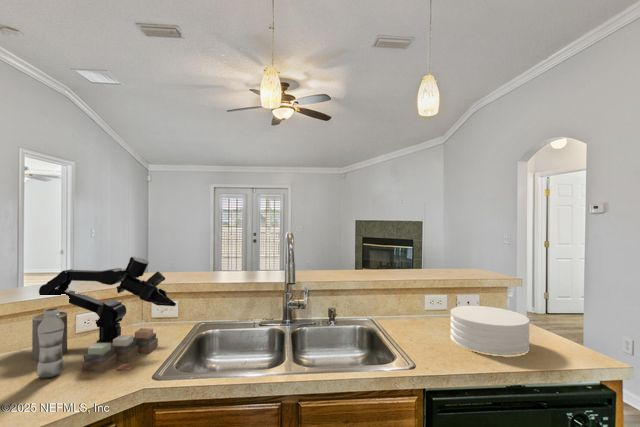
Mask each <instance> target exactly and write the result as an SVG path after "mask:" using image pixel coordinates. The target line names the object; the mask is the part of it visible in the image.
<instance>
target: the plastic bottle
mask: <svg viewBox="0 0 640 427" xmlns="http://www.w3.org/2000/svg"><path fill="white" fill-rule="evenodd" d="M59 312H60V308H59V307H58V308H57V307H54V308H53V307H52V308H46V309H44V310H43V314H44V315H43V317H45V318H44V320H43V321H42V322H41V323H40V325H39V326H38V329H37V331H38V337H39V346H40V353H39V360H38V363H37V367H36V373H37V376H38V377H39V378H42V379H49V378H52V377H55V376H58V375H60V374H61V373H63V370H64V369H65V368H64V367H65V361H64V357H63V355H62V337H63V332H64V323H63V321H62V320H61V319H60V318H59V317H58V315H59Z"/></svg>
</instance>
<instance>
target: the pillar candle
mask: <svg viewBox="0 0 640 427" xmlns="http://www.w3.org/2000/svg"><path fill="white" fill-rule="evenodd" d="M43 315H44V313H41V314H38V315H34V316H33V317H32V322H31V323H32V327H31V328H32V330H31V331H32V334H31V337H32V339H31V340H32V341H31V344H32V348H31V349H32V351H31V352H32V353H31V355H32V359H33V360H34V361H39V353H40V346H39V337H38V331H37V329H38V326H39V325H40V323H41V322H42V321H43V320H44V318H45V317H43ZM58 317H59V318H60V319H61V320H62V321H63V323H64V332H63V337H62V355H65V354H67V352H68V313H67V312H65V311H59V315H58Z"/></svg>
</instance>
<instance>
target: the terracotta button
mask: <svg viewBox="0 0 640 427" xmlns="http://www.w3.org/2000/svg"><path fill="white" fill-rule="evenodd" d="M153 333H154V328H151V327H150V328H145V327H144V328H143V327H142V328H139V329H137V330H136V331H135V332H134V337H135V338H149V337H150V336H152V335H153Z"/></svg>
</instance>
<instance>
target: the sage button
mask: <svg viewBox="0 0 640 427" xmlns="http://www.w3.org/2000/svg"><path fill="white" fill-rule="evenodd" d="M111 345H112V342H96V343H94V344H92V345H91V346H90V347H88V348H87V353H88V355H103V354H105V353H107V352H108V351H110V350H111Z"/></svg>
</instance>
